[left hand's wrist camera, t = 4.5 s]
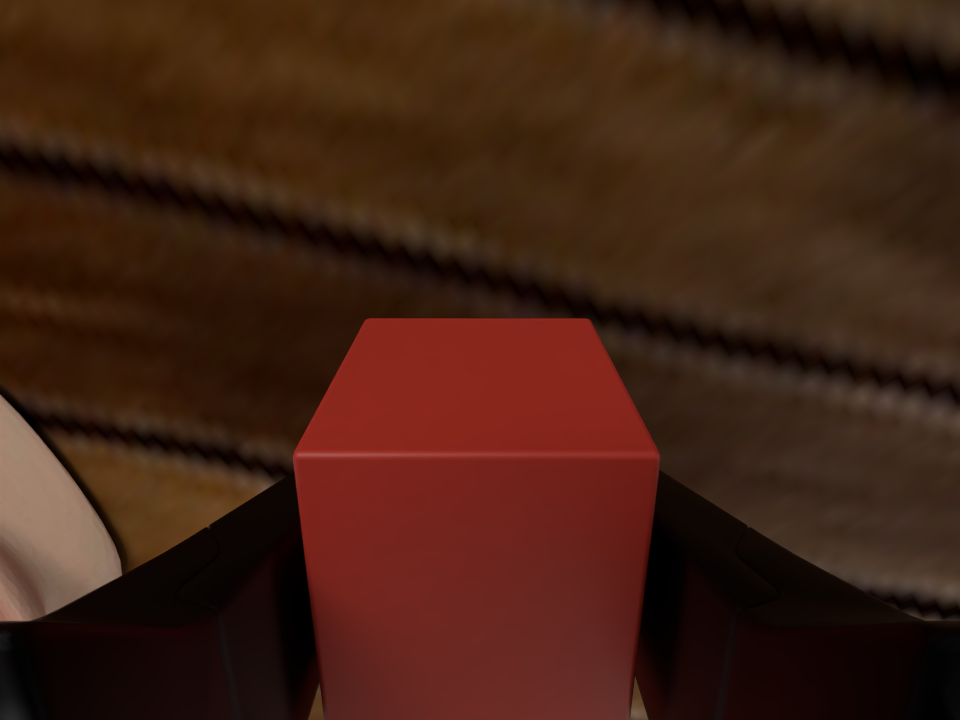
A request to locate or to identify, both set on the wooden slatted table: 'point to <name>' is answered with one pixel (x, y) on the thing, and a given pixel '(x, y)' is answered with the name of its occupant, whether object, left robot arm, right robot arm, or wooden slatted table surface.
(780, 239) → the wooden slatted table surface
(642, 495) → the block
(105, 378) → the wooden slatted table surface
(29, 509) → the anatomical model
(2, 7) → the wooden slatted table surface
